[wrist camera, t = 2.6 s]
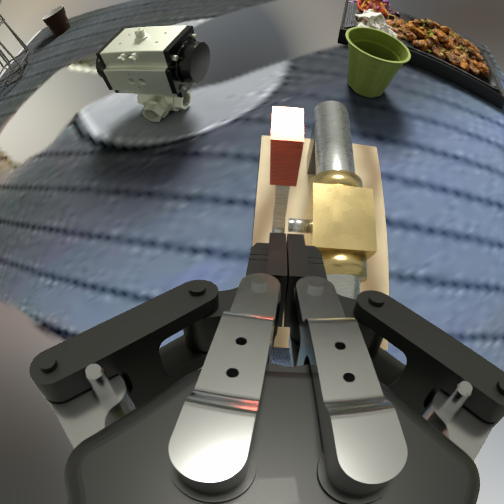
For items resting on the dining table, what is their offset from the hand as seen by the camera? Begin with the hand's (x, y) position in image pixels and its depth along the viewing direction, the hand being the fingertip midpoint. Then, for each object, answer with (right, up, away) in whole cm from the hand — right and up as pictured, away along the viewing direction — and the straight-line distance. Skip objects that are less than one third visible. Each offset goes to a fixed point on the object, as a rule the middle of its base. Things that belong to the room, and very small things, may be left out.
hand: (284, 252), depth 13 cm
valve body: (+7, +3, +25) cm, 26 cm away
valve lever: (+1, +2, +18) cm, 18 cm away
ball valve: (-17, +26, +35) cm, 47 cm away
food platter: (+43, +53, +42) cm, 80 cm away
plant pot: (+21, +32, +36) cm, 52 cm away
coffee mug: (-69, +80, +55) cm, 119 cm away
